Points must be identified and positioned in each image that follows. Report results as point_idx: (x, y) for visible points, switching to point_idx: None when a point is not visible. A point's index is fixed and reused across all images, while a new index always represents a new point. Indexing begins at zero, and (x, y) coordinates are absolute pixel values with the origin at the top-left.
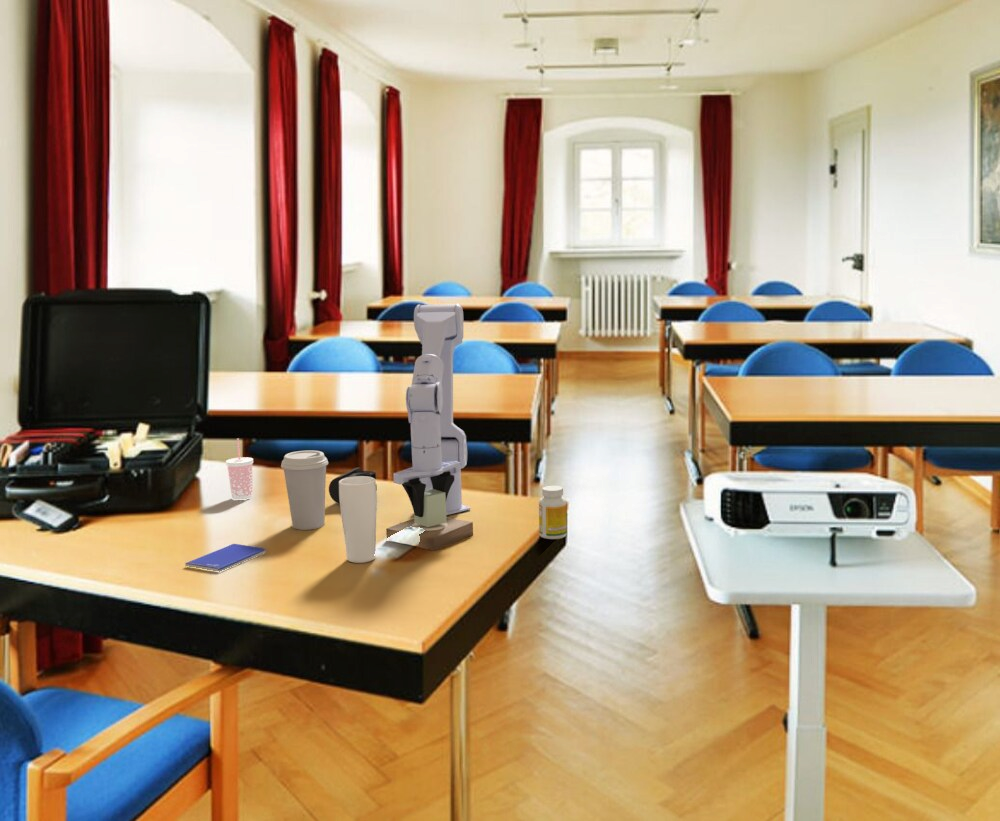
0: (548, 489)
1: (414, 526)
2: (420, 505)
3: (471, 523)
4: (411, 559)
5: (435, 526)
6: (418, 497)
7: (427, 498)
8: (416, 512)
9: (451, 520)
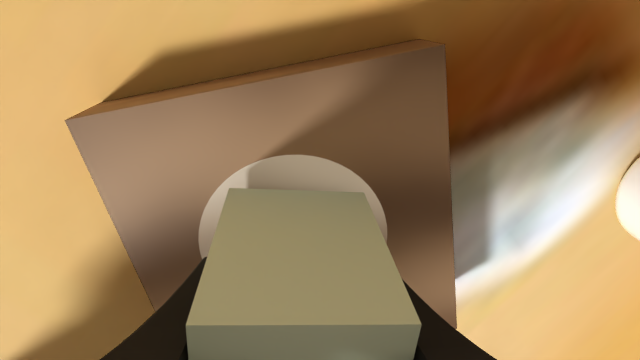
0: None
1: None
2: (422, 302)
3: (80, 116)
4: (579, 20)
5: None
6: (480, 350)
7: (404, 312)
8: None
9: (152, 232)
